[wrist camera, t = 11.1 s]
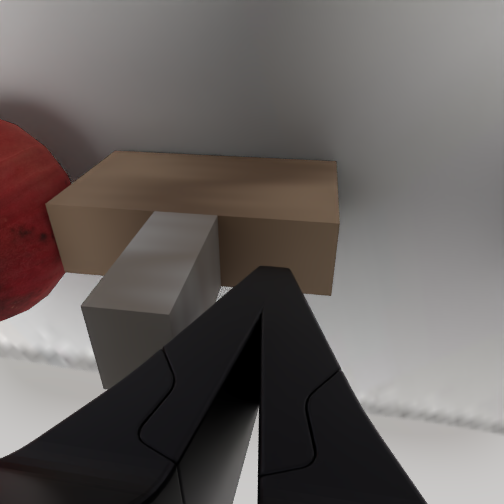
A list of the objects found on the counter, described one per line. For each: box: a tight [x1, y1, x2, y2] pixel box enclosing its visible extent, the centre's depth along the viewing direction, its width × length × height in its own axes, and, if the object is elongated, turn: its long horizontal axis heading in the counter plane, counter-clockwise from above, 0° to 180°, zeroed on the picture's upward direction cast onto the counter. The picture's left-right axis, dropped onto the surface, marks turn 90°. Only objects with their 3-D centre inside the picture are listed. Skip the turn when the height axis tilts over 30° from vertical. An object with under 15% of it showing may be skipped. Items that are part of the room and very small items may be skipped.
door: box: [45, 151, 340, 389], centre depth 10 cm, size 7×2×8 cm, turn 90°
